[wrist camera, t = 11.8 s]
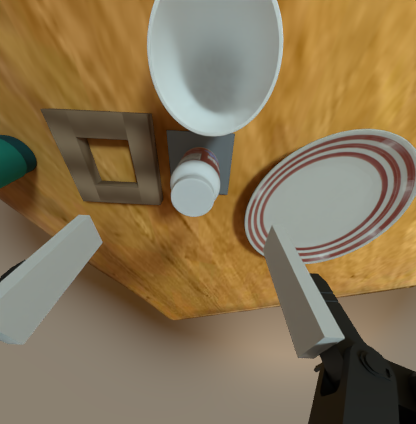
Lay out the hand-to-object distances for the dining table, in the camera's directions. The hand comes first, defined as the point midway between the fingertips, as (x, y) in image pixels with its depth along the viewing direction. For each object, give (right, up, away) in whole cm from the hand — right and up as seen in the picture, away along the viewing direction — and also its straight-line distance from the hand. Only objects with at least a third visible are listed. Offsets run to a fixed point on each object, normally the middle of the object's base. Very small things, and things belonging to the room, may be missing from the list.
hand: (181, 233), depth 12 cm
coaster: (+1, +9, +14) cm, 17 cm away
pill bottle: (+1, +9, +14) cm, 17 cm away
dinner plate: (+22, +3, +19) cm, 29 cm away
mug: (+2, +19, +8) cm, 21 cm away
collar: (-13, +10, +14) cm, 22 cm away
